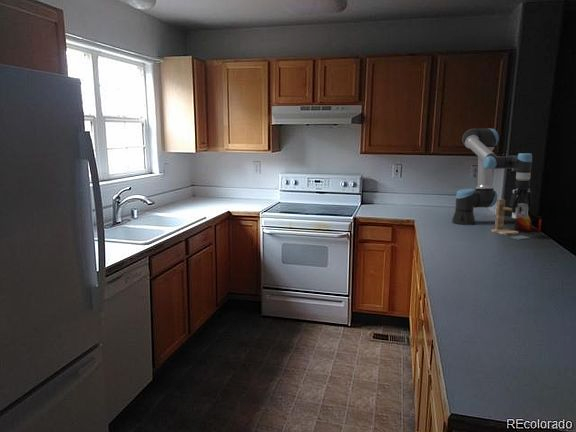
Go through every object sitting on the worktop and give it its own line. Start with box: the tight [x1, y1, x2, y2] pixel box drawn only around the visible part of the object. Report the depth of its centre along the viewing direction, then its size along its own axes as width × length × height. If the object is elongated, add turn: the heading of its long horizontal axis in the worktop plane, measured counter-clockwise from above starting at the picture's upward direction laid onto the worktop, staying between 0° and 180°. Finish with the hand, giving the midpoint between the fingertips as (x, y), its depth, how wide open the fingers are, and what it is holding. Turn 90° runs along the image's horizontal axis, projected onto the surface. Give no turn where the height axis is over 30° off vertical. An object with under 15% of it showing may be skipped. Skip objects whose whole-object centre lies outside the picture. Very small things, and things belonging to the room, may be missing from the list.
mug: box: [513, 209, 543, 233], centre depth 275 cm, size 10×14×12 cm
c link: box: [517, 202, 528, 218], centre depth 258 cm, size 8×3×8 cm, turn 111°
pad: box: [510, 235, 531, 241], centre depth 254 cm, size 6×9×1 cm, turn 111°
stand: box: [490, 199, 520, 236], centre depth 267 cm, size 13×10×20 cm
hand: (519, 217), depth 259 cm, fingers closed on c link, 8 cm apart
